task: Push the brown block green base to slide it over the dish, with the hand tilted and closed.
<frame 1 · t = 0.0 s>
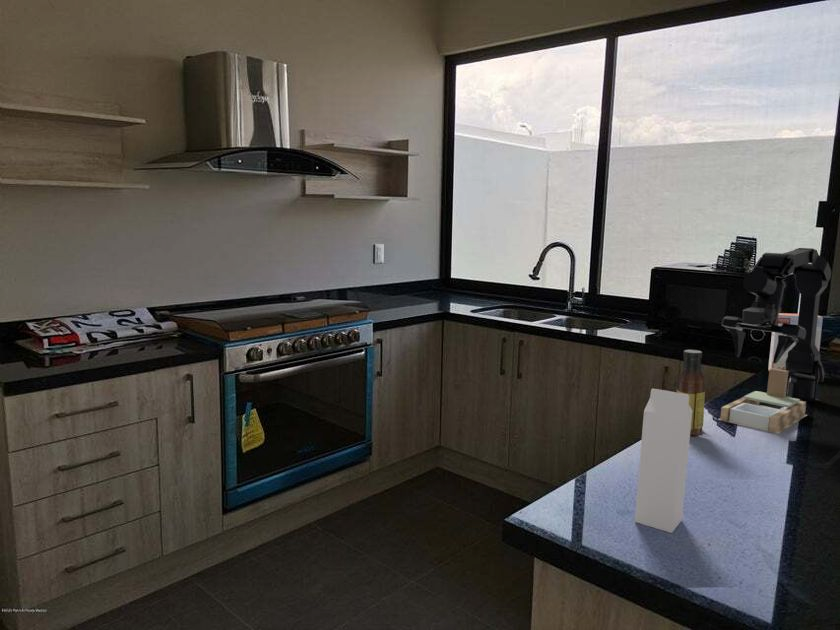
hand: (755, 360, 163), 15 cm above the countertop, tool pointing down, fingers open, 9 cm apart
brown block green base: (773, 385, 166), point 8 cm above the countertop, slide at 0.0 cm
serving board: (769, 416, 167), on the countertop
milk: (658, 522, 105), on the countertop
cracker box: (791, 374, 221), on the countertop
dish: (754, 422, 159), resting on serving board
sauce bottle: (687, 433, 152), on the countertop
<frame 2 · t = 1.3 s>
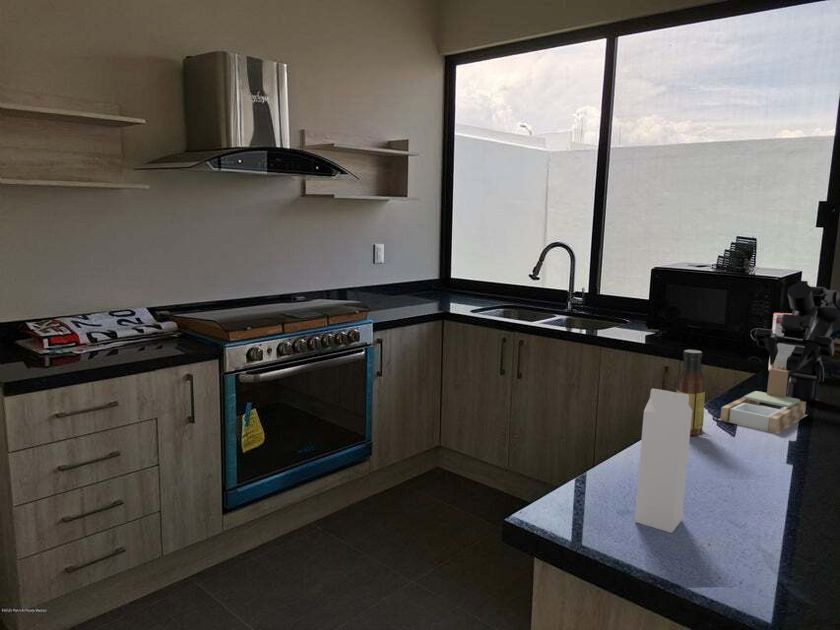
hand: (784, 366, 171), 13 cm above the countertop, tool tilted 45°, fingers open, 6 cm apart
nothing on the countertop moved.
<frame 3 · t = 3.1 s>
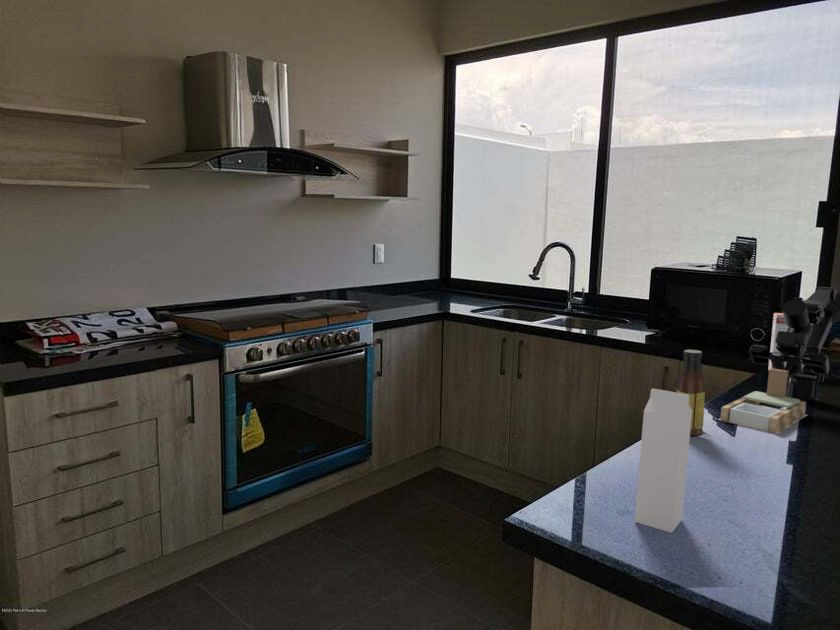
hand: (778, 383, 169), 8 cm above the countertop, tool tilted 45°, fingers closed, pressing on brown block green base
brown block green base: (772, 386, 166), point 8 cm above the countertop, slide at 0.2 cm, touching gripper
everything else where it was.
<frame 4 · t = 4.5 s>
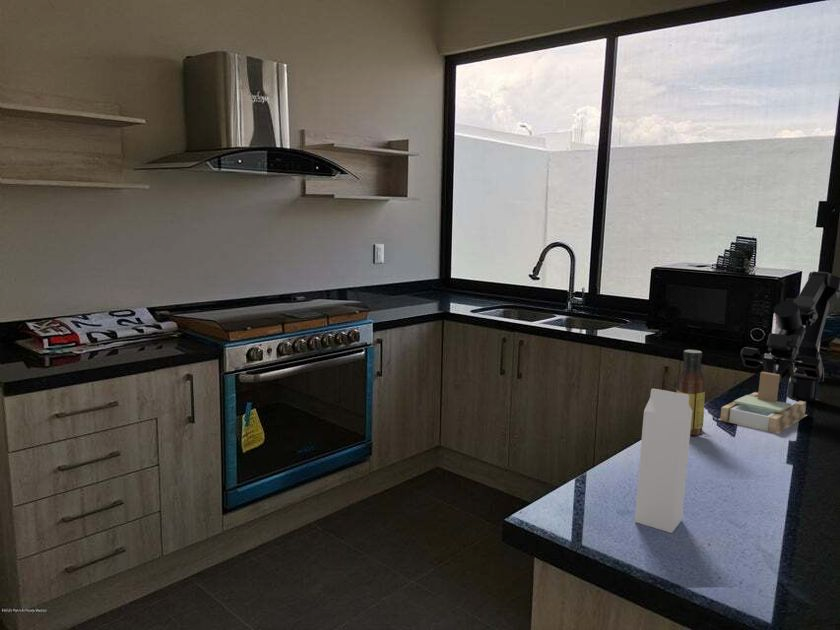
hand: (770, 387, 165), 8 cm above the countertop, tool tilted 45°, fingers closed, pressing on brown block green base
brown block green base: (763, 390, 161), point 8 cm above the countertop, slide at 7.0 cm, touching gripper
everything else where it was.
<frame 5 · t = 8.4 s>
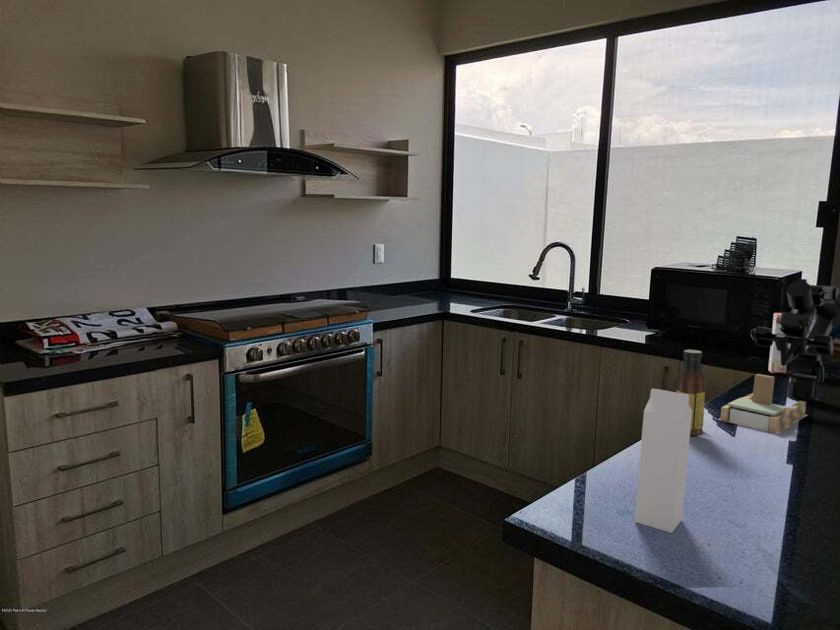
hand: (782, 364, 170), 13 cm above the countertop, tool tilted 45°, fingers closed
brown block green base: (758, 392, 159), point 8 cm above the countertop, slide at 11.1 cm
everything else where it was.
at the end: brown block green base slide at 11.1 cm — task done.
